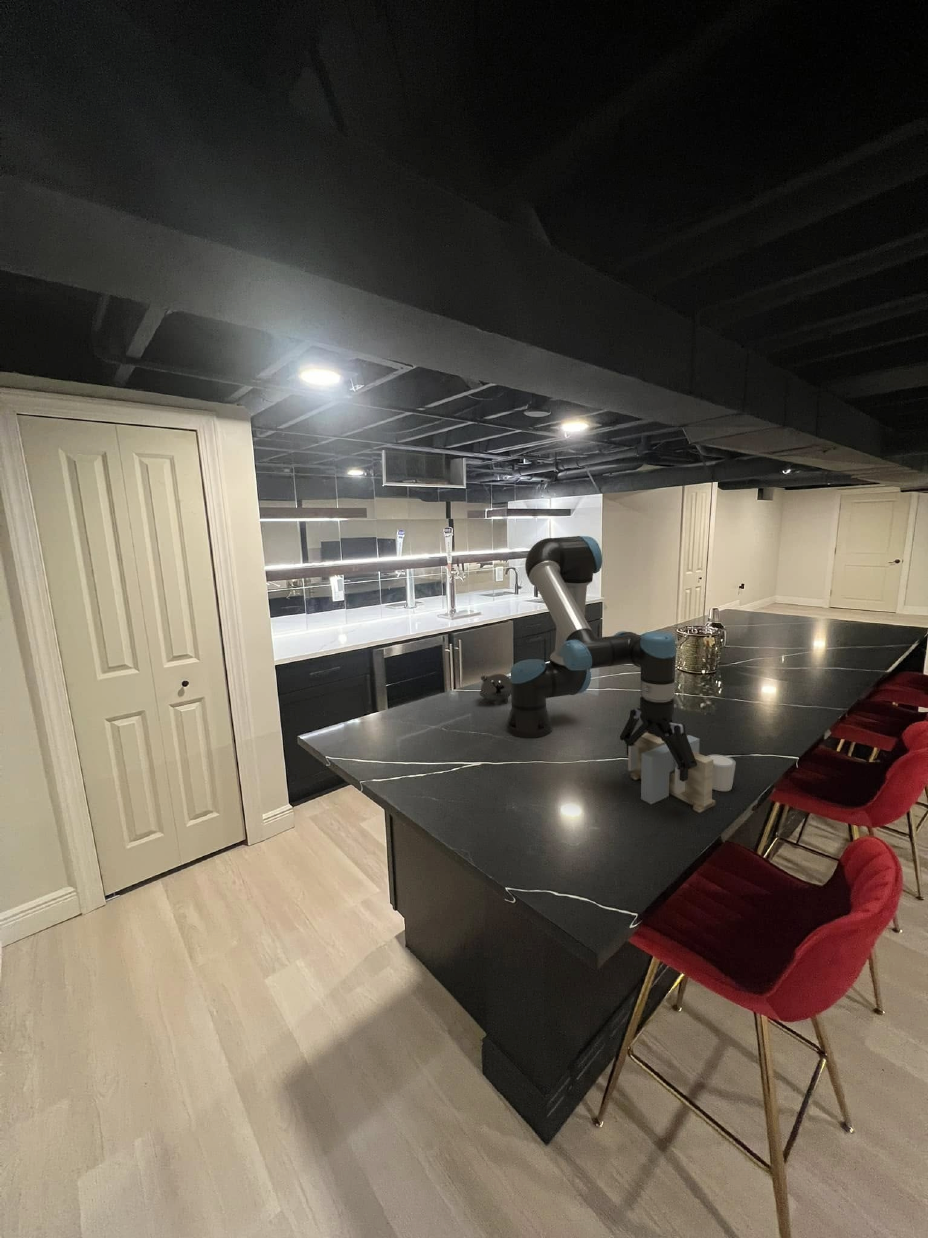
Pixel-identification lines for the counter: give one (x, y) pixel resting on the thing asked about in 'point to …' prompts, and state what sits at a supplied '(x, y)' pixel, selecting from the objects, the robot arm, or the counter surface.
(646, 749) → the slotted stand
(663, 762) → the slotted plate
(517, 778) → the counter surface
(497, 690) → the grey teddy bear
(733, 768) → the white cylinder
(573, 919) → the counter surface
